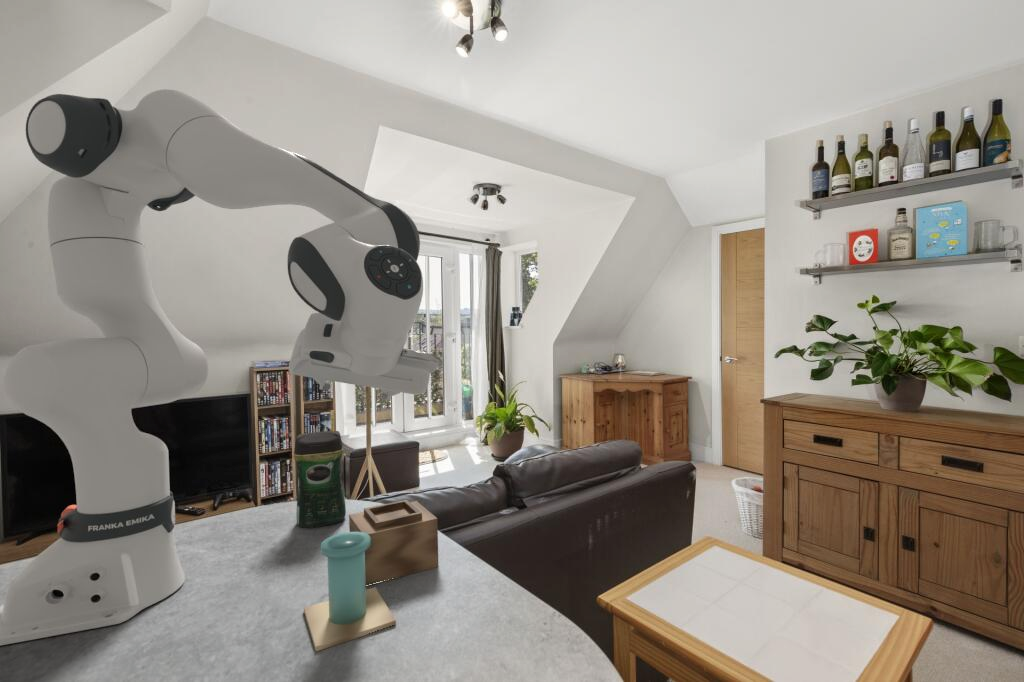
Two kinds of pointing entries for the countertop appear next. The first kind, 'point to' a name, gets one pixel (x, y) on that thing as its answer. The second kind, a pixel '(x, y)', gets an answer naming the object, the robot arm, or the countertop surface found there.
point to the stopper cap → (346, 575)
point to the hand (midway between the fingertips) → (355, 391)
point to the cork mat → (334, 634)
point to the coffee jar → (319, 479)
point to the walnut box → (397, 539)
